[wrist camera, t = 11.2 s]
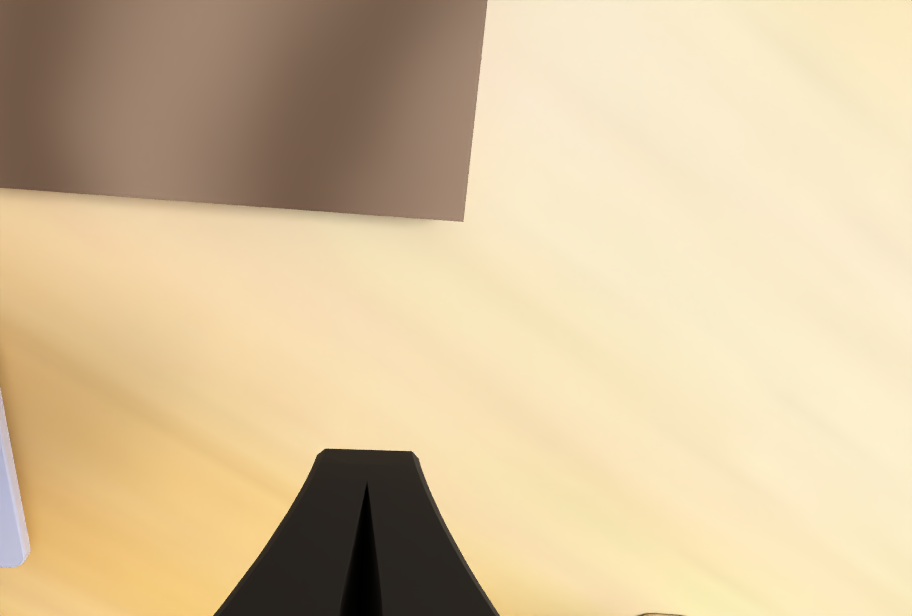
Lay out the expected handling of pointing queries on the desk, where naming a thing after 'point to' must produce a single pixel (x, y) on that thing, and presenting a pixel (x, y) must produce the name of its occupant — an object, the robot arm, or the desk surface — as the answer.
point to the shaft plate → (244, 101)
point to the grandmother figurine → (658, 615)
